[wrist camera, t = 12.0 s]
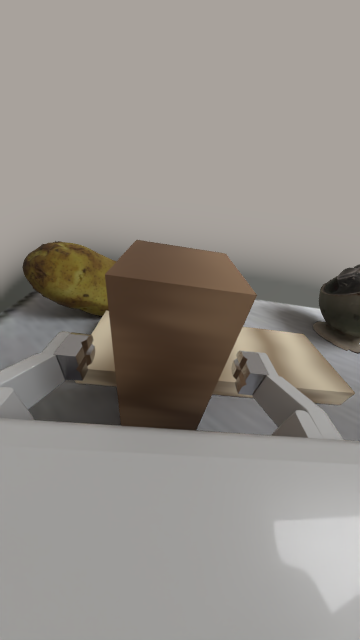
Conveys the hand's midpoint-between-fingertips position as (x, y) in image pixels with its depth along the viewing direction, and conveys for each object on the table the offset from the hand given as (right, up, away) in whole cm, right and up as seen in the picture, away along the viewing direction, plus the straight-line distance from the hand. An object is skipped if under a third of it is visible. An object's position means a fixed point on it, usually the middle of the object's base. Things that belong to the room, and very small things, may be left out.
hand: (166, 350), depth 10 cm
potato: (-10, +3, +14) cm, 17 cm away
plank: (+4, -3, +9) cm, 10 cm away
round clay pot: (+25, -1, +17) cm, 30 cm away
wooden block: (-1, -4, +6) cm, 7 cm away
